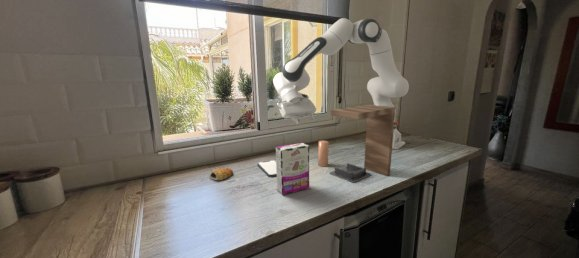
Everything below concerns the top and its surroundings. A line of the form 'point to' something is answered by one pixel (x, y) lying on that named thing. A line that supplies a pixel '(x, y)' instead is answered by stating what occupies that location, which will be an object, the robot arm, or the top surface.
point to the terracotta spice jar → (323, 153)
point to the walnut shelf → (374, 134)
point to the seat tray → (350, 173)
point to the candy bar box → (292, 168)
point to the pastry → (220, 173)
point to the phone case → (268, 168)
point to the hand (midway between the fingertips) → (305, 122)
